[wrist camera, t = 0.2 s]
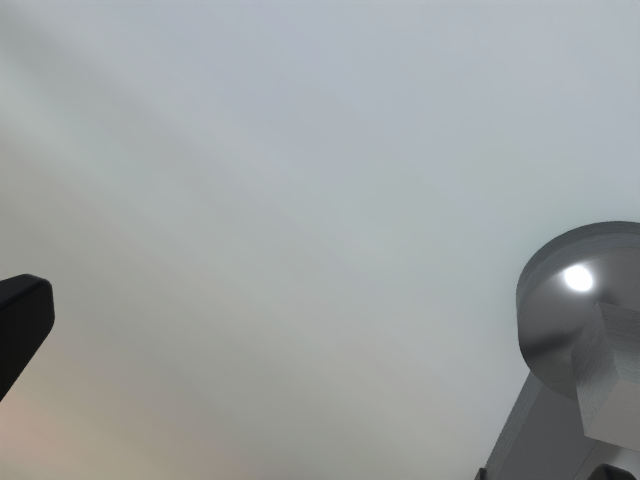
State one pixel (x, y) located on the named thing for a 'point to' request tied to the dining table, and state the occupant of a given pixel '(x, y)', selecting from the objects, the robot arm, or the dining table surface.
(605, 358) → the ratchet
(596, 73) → the dining table surface
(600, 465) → the robot arm
